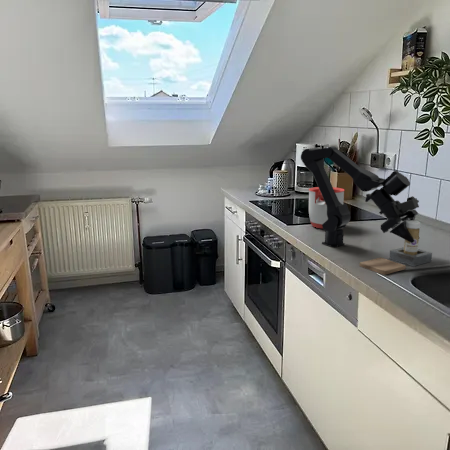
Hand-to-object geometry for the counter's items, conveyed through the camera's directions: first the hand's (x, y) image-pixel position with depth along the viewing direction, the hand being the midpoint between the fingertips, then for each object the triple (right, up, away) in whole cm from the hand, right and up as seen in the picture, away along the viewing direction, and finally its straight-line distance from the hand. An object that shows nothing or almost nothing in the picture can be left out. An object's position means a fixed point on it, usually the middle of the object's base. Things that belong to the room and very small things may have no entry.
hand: (415, 240), depth 143 cm
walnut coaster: (-13, -9, -4) cm, 16 cm away
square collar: (-1, -7, +3) cm, 7 cm away
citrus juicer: (-19, +4, +50) cm, 53 cm away
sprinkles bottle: (-1, -7, +3) cm, 7 cm away
